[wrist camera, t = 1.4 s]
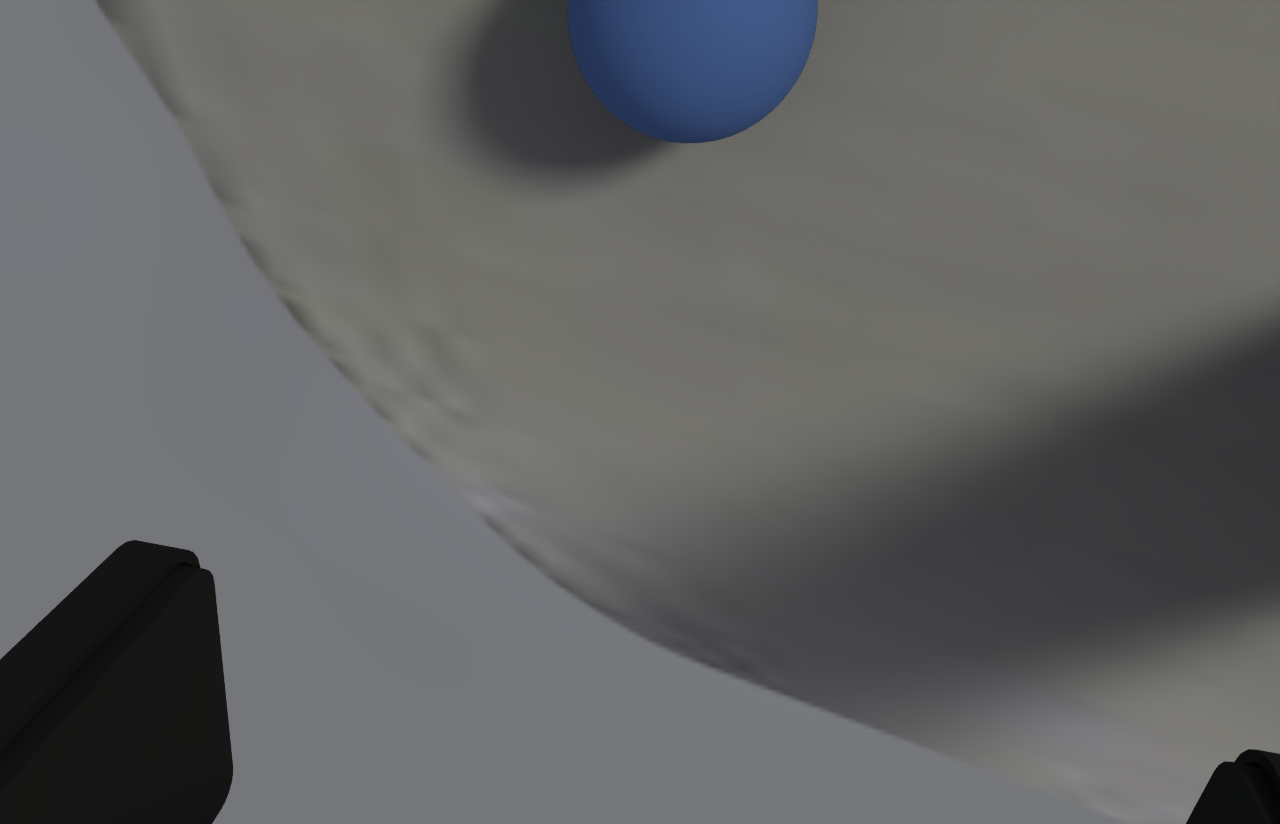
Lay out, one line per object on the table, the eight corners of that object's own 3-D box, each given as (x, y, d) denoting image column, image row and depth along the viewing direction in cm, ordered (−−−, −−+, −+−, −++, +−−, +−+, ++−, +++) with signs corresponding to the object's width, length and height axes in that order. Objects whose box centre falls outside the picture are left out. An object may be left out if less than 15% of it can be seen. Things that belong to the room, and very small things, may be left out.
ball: (836, 92, 27) (836, 137, 22) (627, 139, 29) (580, 191, 24) (797, -152, 25) (786, -168, 20) (571, -87, 27) (505, -84, 21)
